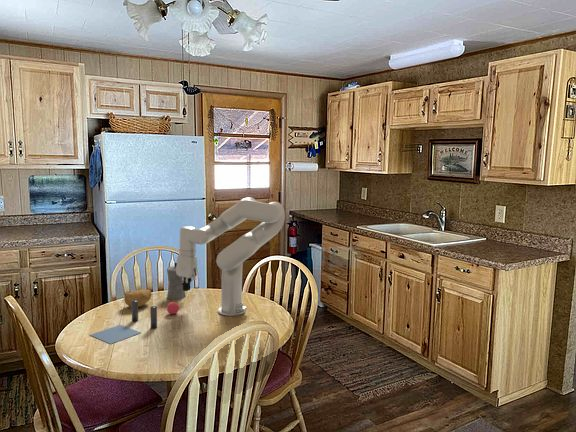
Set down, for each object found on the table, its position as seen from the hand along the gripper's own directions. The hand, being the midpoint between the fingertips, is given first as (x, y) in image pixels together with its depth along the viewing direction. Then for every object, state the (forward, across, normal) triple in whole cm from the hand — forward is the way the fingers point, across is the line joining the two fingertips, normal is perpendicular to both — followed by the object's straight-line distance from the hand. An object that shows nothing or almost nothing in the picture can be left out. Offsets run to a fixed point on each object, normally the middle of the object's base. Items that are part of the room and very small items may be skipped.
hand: (186, 290), depth 212 cm
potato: (+10, -20, -12) cm, 25 cm away
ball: (+6, +1, -9) cm, 11 cm away
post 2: (+9, +7, -25) cm, 28 cm away
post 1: (+10, -5, -25) cm, 27 cm away
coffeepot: (+10, -16, +9) cm, 21 cm away
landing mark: (+10, +1, -39) cm, 40 cm away
